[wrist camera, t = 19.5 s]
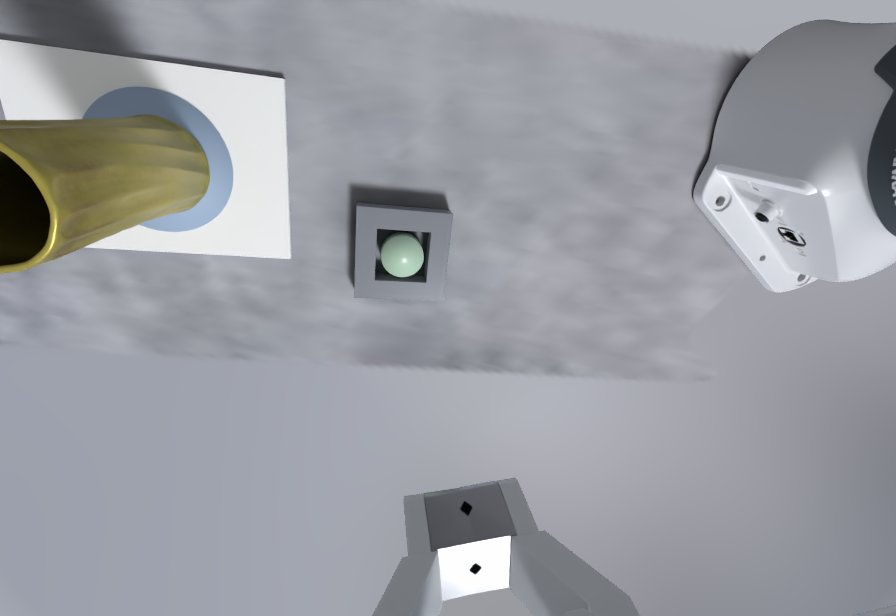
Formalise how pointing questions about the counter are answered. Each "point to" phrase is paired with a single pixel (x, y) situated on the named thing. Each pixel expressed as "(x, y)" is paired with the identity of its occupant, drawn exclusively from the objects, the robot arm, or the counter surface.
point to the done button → (402, 254)
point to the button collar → (405, 220)
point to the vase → (90, 182)
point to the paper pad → (199, 113)
